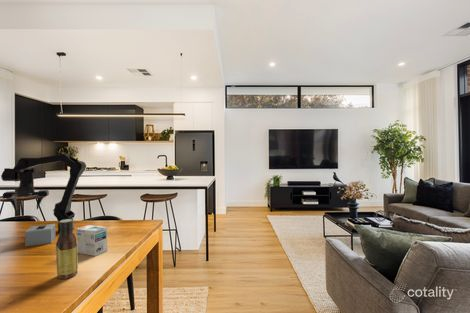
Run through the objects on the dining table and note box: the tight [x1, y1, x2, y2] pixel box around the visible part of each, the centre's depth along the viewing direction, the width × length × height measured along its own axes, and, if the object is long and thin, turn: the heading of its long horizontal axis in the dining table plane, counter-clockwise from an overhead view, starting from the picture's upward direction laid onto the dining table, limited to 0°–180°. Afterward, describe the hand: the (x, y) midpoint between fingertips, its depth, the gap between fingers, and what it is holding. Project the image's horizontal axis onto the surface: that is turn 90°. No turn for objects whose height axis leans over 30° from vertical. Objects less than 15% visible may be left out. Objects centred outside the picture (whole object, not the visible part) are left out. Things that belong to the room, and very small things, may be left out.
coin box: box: [24, 223, 57, 247], centre depth 126 cm, size 10×9×7 cm
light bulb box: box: [76, 224, 108, 257], centre depth 113 cm, size 11×7×11 cm, turn 71°
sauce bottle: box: [55, 219, 79, 280], centre depth 92 cm, size 6×6×20 cm
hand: (26, 209), depth 140 cm, fingers open, 9 cm apart
